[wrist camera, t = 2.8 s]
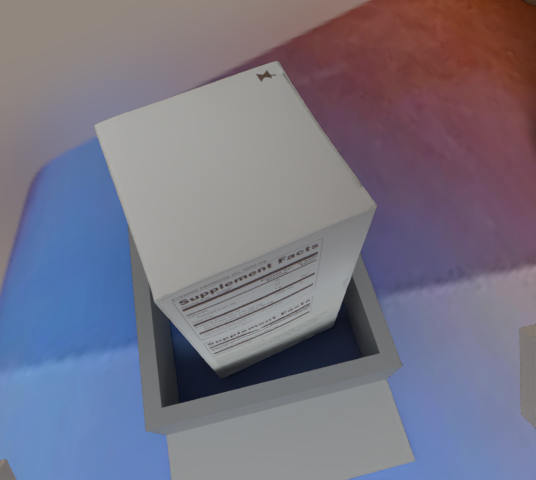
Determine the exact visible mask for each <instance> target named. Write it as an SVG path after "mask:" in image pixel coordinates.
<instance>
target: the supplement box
mask: <svg viewBox="0 0 536 480" xmlns="http://www.w3.org/2000/svg"><path fill="white" fill-rule="evenodd" d="M94 129H95V131H96V134H97V137H98V140H99V143H100V145H101V148H102V151H103V154H104V157H105V160H106V162H107V165H108V168H109V171H110V174H111V177H112V180H113V182H114V185H115V188H116V191H117V194H118V197H119V199H120V202H121V205H122V208H123V211H124V214H125V216H126V219H127V222H128V225H129V228H130V231H131V234H132V236H133V239H134V242H135V245H136V248H137V251H138V253H139V256H140V259H141V262H142V265H143V268H144V271H145V274H146V277H147V280H148V283H149V285H150V288H151V291H152V295H153V299H154V302H155V304H157V306H158V307H159V308H160V309H161V310H162V312H163V313H164V314H165V315H166V316H167V317H168V318H169V319H170V320H171V322H172V323H173V324H174V325H175V326H176V327H177V328H178V330H179V331H180V332H181V333H182V334H183V335H184V337H185V338H186V339H187V340H188V341H189V342H190V344H191V345H192V346H193V347H194V348H195V349H196V350H197V351H198V353H199V354H200V355H201V356H202V357H203V359H204V360H205V361H206V362H207V363H208V364H209V366H210V367H211V368H212V369H213V370H214V371H215V372H216V374H217V375H218V376H219V377H220V378H225V377H227V376H229V375H232V374H234V373H236V372H238V371H241V370H243V369H245V368H247V367H249V366H251V365H253V364H255V363H258V362H260V361H262V360H264V359H266V358H268V357H270V356H272V355H274V354H277V353H279V352H281V351H283V350H285V349H287V348H289V347H291V346H293V345H296V344H298V343H300V342H302V341H304V340H306V339H308V338H310V337H312V336H315V335H317V334H319V333H321V332H323V331H325V330H327V329H329V328H331V327H333V325H334V323H335V320H336V317H337V314H338V312H339V309H340V306H341V303H342V301H343V298H344V295H345V292H346V289H347V286H348V284H349V282H350V279H351V276H352V273H353V270H354V267H355V265H356V262H357V259H358V256H359V254H360V251H361V248H362V246H363V243H364V240H365V238H366V235H367V232H368V230H369V227H370V224H371V221H372V218H373V216H374V213H375V210H376V207H377V205H376V203H375V202H374V200H373V199H372V197H371V196H370V195H369V193H368V192H367V191H366V190H365V188H364V187H363V186H362V184H361V183H360V182H359V180H358V179H357V177H356V176H355V174H354V173H353V172H352V170H351V169H350V168H349V166H348V165H347V163H346V162H345V161H344V159H343V158H342V157H341V155H340V154H339V153H338V151H337V150H336V148H335V147H334V145H333V144H332V143H331V141H330V140H329V138H328V137H327V135H326V134H325V133H324V131H323V130H322V128H321V127H320V125H319V124H318V123H317V121H316V120H315V118H314V117H313V115H312V114H311V112H310V111H309V109H308V108H307V106H306V105H305V103H304V101H303V100H302V98H301V97H300V95H299V94H298V92H297V91H296V89H295V88H294V86H293V84H292V83H291V81H290V80H289V78H288V76H287V75H286V73H285V71H284V70H283V68H282V66H281V64H280V63H279V62H278V61H274V62H271V63H268V64H265V65H262V66H259V67H256V68H253V69H250V70H247V71H244V72H241V73H238V74H236V75H233V76H230V77H227V78H224V79H221V80H218V81H216V82H213V83H210V84H207V85H204V86H201V87H199V88H196V89H193V90H190V91H187V92H184V93H181V94H178V95H176V96H173V97H170V98H167V99H165V100H161V101H159V102H156V103H153V104H150V105H147V106H144V107H141V108H138V109H135V110H132V111H129V112H126V113H123V114H120V115H118V116H115V117H113V118H110V119H107V120H105V121H102V122H100V123H97V124H96V125H95V126H94Z"/></svg>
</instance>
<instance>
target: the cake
mask: <svg viewBox="0 0 536 480" xmlns="http://www.w3.org/2000/svg"><path fill="white" fill-rule="evenodd" d="M522 1H524V2H526V3H528V4H530V5H533V6H536V0H522Z"/></svg>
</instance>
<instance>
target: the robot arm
mask: <svg viewBox="0 0 536 480" xmlns="http://www.w3.org/2000/svg"><path fill="white" fill-rule="evenodd" d="M519 334H520V400H521V415H522V416H523V417H524V418H525V419H526V420H527V421H528V422H529V423H530V424H531V425H532V426H534V427H535V428H536V324H534V325H530V326H526V327H522V328H519ZM0 480H16V478H15V476H14V474H13V472H12V470H11V468H10V466H9V464H8V462H7V459H4V460H0Z"/></svg>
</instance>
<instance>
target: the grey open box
mask: <svg viewBox="0 0 536 480" xmlns="http://www.w3.org/2000/svg"><path fill="white" fill-rule="evenodd" d="M128 232H129V243H130V255H131V266H132V278H133V290H134V301H135V313H136V324H137V336H138V348H139V359H140V371H141V383H142V394H143V406H144V417H145V429H146V431H147V432H152V433H157V434H162V435H167V444H168V453H169V462H170V472H171V480H346V479H350V478H354V477H358V476H361V475H365V474H369V473H372V472H376V471H380V470H383V469H387V468H391V467H395V466H398V465H402V464H406V463H409V462H413V461H415V458H414V456H413V453H412V450H411V447H410V444H409V441H408V439H407V436H406V433H405V430H404V427H403V424H402V422H401V419H400V416H399V413H398V410H397V407H396V405H395V402H394V399H393V396H392V393H391V390H390V388H389V385H388V382H387V378H389V377H390V376H391V375H392V374H394V373H395V372H396V371H397V370H398V369H400V368H401V367H402V363H401V360H400V358H399V355H398V353H397V350H396V347H395V345H394V342H393V339H392V337H391V334H390V331H389V329H388V326H387V323H386V321H385V318H384V315H383V313H382V310H381V307H380V305H379V302H378V299H377V297H376V294H375V291H374V289H373V286H372V283H371V281H370V278H369V275H368V273H367V270H366V268H365V265H364V262H363V260H362V257H361V254H359V256H358V259H357V262H356V265H355V267H354V270H353V273H352V276H351V279H350V282H349V284H348V286H347V289H346V292H345V295H344V298H343V302H344V305H345V308H346V311H347V314H348V317H349V320H350V323H351V326H352V329H353V332H354V335H355V338H356V341H357V344H358V347H359V349H360V352H361V355H362V358H359V359H355V360H351V361H347V362H343V363H339V364H335V365H331V366H327V367H323V368H319V369H315V370H311V371H307V372H303V373H299V374H295V375H291V376H287V377H283V378H279V379H275V380H271V381H267V382H263V383H259V384H255V385H251V386H247V387H243V388H239V389H235V390H231V391H227V392H223V393H219V394H215V395H211V396H207V397H203V398H199V399H195V400H191V401H187V402H183V403H180V400H179V392H178V384H177V376H176V368H175V360H174V352H173V344H172V336H171V328H170V320H169V318H168V317H167V316H166V315H165V314H164V313H163V312H162V310H161V309H160V308H159V307H158V306H157V304H155V302H154V299H153V295H152V291H151V288H150V285H149V283H148V280H147V277H146V274H145V271H144V268H143V265H142V262H141V259H140V256H139V253H138V251H137V248H136V245H135V242H134V239H133V236H132V234H131V231H130V228H129V225H128Z"/></svg>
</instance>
